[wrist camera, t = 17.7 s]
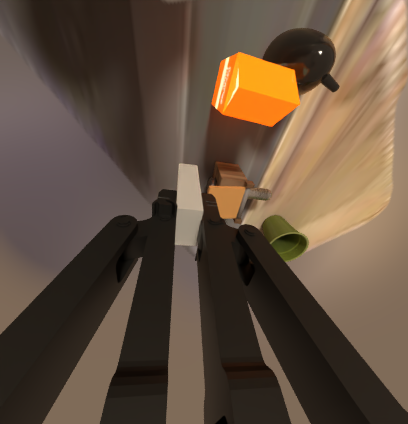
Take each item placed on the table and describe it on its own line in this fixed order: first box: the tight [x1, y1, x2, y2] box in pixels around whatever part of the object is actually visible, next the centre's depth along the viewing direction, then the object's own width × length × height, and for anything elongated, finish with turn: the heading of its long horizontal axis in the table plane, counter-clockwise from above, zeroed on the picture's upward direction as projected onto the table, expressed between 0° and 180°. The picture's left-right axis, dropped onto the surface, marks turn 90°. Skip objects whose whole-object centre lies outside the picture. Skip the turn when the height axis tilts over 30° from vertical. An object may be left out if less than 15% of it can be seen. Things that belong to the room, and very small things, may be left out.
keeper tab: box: [207, 186, 251, 219], centre depth 42 cm, size 8×10×1 cm
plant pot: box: [262, 215, 309, 262], centre depth 58 cm, size 12×12×11 cm
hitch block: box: [212, 161, 255, 224], centre depth 47 cm, size 10×7×12 cm, turn 170°
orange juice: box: [212, 52, 300, 127], centre depth 32 cm, size 8×9×20 cm
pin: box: [206, 177, 272, 200], centre depth 48 cm, size 5×17×5 cm, turn 80°
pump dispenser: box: [262, 28, 339, 96], centre depth 33 cm, size 10×10×15 cm
